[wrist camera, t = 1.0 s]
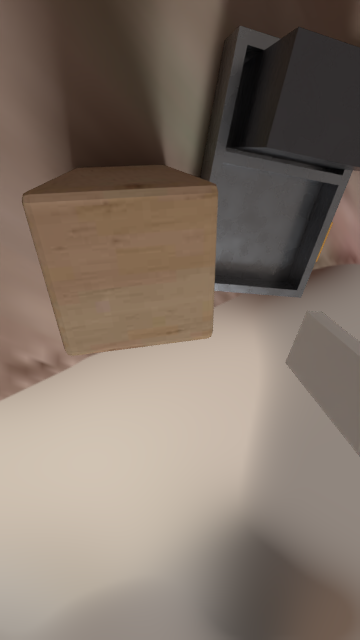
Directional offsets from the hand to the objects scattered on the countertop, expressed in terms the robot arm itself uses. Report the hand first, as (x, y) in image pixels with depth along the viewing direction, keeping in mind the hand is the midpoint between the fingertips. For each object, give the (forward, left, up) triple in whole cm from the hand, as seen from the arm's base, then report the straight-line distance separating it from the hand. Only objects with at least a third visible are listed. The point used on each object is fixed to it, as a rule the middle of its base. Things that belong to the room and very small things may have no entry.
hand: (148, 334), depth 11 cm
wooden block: (0, -1, -27) cm, 27 cm away
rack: (+16, +4, -26) cm, 31 cm away
